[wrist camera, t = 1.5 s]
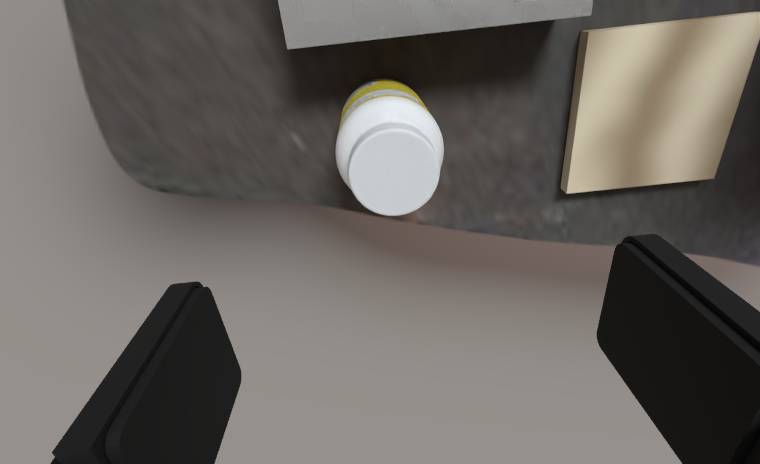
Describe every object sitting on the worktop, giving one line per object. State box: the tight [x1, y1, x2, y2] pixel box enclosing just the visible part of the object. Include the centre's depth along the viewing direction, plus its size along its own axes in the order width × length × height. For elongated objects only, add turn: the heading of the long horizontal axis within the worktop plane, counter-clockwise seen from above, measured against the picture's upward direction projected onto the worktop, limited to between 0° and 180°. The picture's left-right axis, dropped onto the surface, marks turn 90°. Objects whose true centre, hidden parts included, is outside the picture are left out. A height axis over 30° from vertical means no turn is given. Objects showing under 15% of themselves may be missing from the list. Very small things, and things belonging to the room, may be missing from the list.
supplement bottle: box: [336, 79, 444, 216], centre depth 21 cm, size 5×5×10 cm
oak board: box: [560, 12, 760, 194], centre depth 25 cm, size 10×10×1 cm
